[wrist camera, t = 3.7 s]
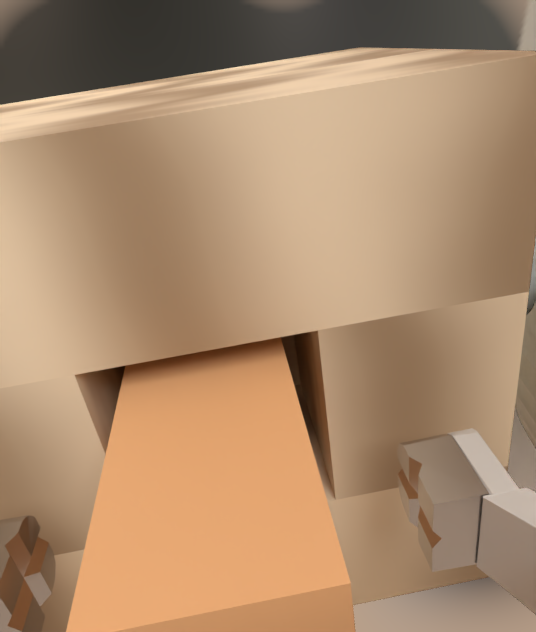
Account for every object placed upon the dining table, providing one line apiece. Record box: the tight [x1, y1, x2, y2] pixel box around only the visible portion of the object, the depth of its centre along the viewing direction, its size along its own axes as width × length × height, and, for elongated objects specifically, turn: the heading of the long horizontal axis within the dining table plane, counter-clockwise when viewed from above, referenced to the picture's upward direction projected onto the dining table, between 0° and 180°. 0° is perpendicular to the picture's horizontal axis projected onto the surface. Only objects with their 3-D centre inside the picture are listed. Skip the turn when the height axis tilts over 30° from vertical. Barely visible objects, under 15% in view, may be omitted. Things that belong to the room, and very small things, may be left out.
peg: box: [66, 337, 355, 632], centre depth 12 cm, size 4×4×10 cm
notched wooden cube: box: [0, 48, 536, 632], centre depth 17 cm, size 14×14×12 cm
